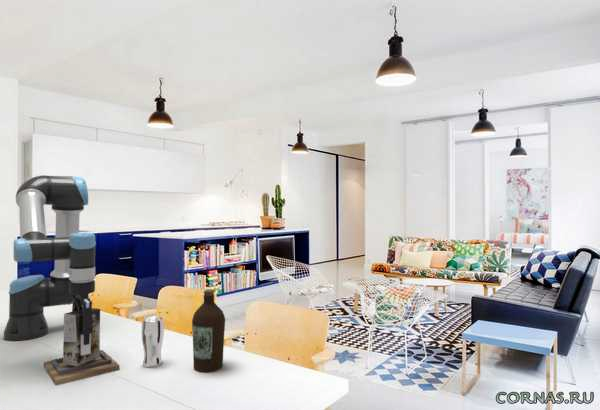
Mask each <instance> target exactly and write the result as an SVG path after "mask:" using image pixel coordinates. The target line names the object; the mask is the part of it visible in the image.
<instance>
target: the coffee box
mask: <svg viewBox="0 0 600 410" xmlns="http://www.w3.org/2000/svg"><path fill="white" fill-rule="evenodd" d="M82 317H83V314H79V313H78V310H77V311H72V310H71V311H69V312H65V313H63V342H62V343H63V345H62V346H63V347H62V349H63V350H62V351H63V352H62V353H63V354H62V358H63V364H67V365H72V366H80V365H82V364H84V363H87V362H89V361H91V360H94V359H96V358H98V357H100V350H101V349H100V348H101V347H100V346H101V345H100V344H101V343H100V341H101V338H100V337H101V309H100V308H95V307H94V308H93V307H92V322H93V333H91V354H86V355H81V335H79V334H80V333H82V329H81V319H82ZM87 330H88V329H87Z"/></svg>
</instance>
